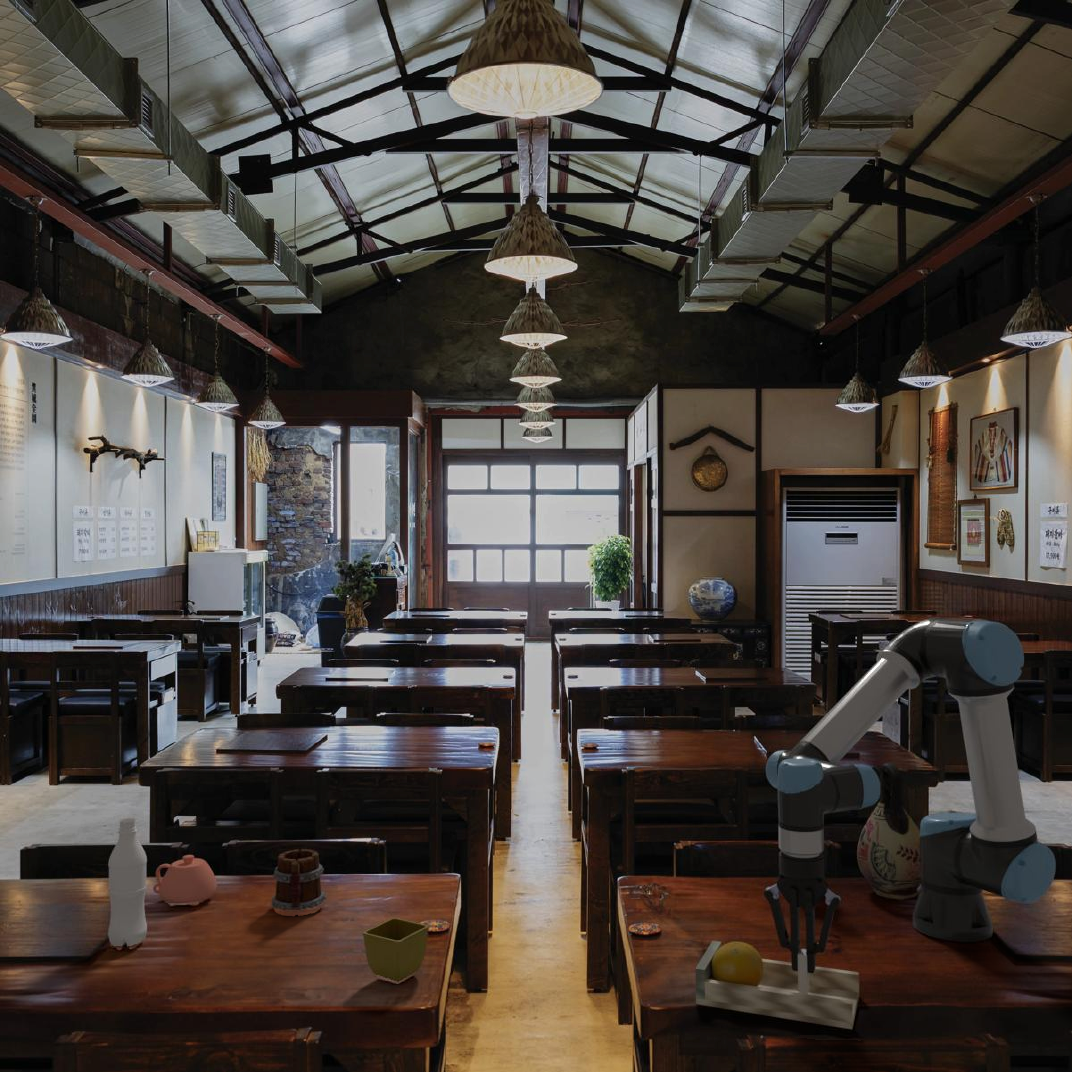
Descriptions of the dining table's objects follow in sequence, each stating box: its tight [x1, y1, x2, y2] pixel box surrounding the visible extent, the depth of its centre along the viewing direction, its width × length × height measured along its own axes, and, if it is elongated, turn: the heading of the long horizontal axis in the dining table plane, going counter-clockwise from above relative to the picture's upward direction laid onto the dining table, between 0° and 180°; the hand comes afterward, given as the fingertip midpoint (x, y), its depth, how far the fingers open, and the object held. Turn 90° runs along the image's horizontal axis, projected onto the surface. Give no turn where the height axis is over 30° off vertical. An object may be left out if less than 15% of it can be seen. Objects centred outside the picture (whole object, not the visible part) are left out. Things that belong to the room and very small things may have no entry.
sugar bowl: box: [152, 854, 218, 903], centre depth 226 cm, size 12×14×10 cm
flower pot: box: [362, 917, 429, 982], centre depth 183 cm, size 9×9×9 cm
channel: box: [694, 940, 860, 1030], centre depth 173 cm, size 26×13×6 cm, turn 68°
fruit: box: [712, 941, 763, 987], centre depth 174 cm, size 9×8×8 cm
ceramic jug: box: [856, 762, 921, 901], centre depth 226 cm, size 17×15×30 cm
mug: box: [270, 848, 327, 910], centre depth 219 cm, size 12×14×15 cm
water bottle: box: [107, 817, 148, 947], centre depth 200 cm, size 7×7×25 cm
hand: (804, 990), depth 171 cm, fingers closed
